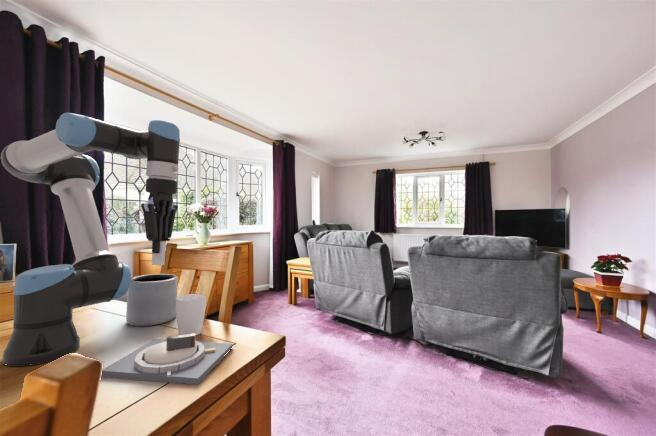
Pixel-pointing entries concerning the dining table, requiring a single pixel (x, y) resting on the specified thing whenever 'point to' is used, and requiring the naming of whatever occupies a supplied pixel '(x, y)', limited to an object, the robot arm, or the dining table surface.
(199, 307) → the cup
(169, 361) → the dial
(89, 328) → the dining table surface
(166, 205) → the robot arm
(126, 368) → the panel
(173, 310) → the planter
